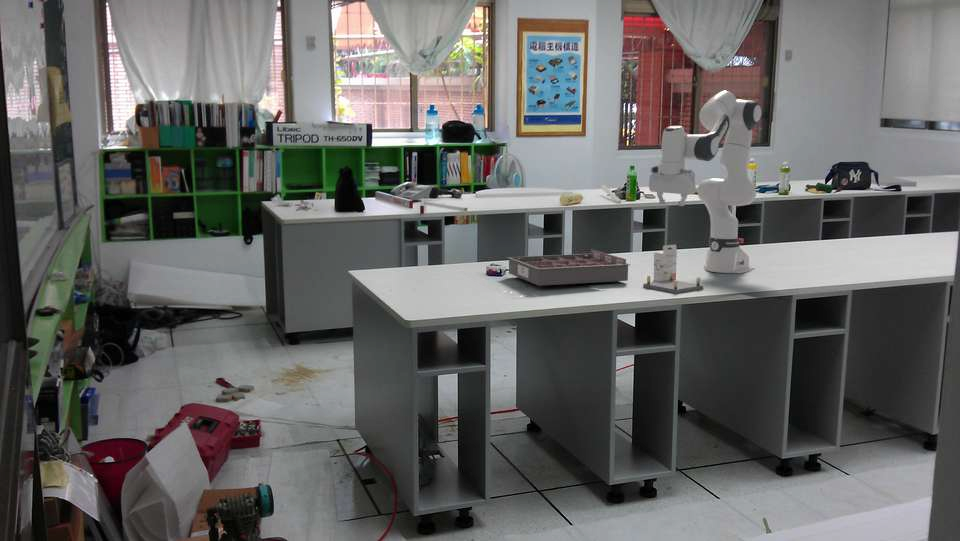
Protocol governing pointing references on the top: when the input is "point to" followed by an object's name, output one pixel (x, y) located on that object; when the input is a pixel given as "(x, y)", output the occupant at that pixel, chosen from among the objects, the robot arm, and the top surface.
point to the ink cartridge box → (665, 263)
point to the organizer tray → (569, 268)
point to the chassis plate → (673, 285)
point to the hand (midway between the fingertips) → (671, 204)
